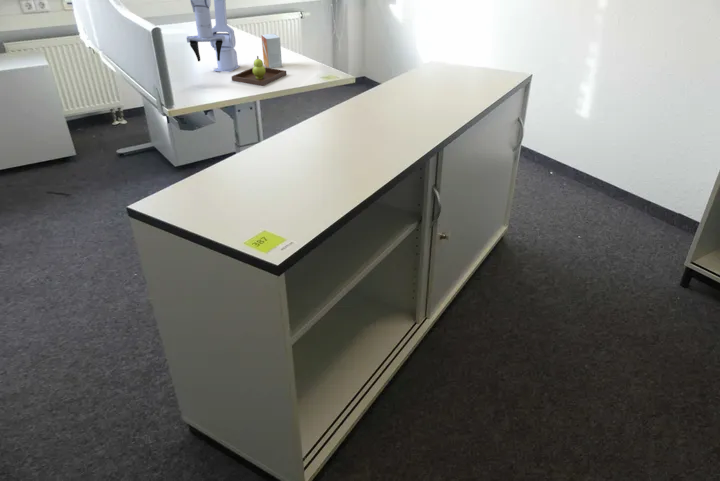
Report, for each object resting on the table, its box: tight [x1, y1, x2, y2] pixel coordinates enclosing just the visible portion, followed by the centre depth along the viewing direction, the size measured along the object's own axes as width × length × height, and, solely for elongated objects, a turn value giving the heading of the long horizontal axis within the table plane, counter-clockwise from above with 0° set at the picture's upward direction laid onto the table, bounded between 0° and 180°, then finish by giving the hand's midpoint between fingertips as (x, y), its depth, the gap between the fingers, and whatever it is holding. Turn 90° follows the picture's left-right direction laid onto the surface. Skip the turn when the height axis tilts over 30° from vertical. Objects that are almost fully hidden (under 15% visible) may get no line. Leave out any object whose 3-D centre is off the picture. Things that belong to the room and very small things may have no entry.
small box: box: [260, 33, 283, 69], centre depth 248 cm, size 8×6×13 cm
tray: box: [231, 66, 288, 87], centre depth 234 cm, size 18×16×2 cm
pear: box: [252, 55, 266, 79], centre depth 232 cm, size 5×5×9 cm
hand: (209, 60), depth 221 cm, fingers open, 7 cm apart
